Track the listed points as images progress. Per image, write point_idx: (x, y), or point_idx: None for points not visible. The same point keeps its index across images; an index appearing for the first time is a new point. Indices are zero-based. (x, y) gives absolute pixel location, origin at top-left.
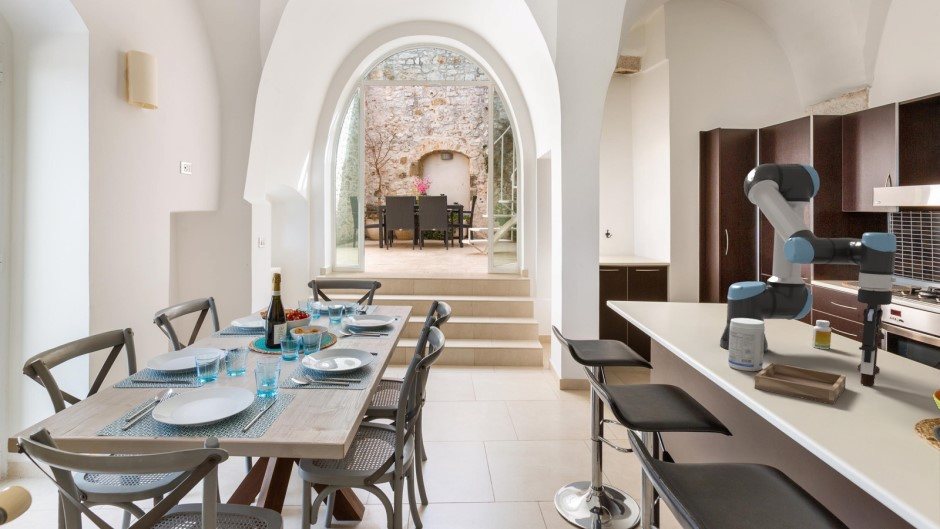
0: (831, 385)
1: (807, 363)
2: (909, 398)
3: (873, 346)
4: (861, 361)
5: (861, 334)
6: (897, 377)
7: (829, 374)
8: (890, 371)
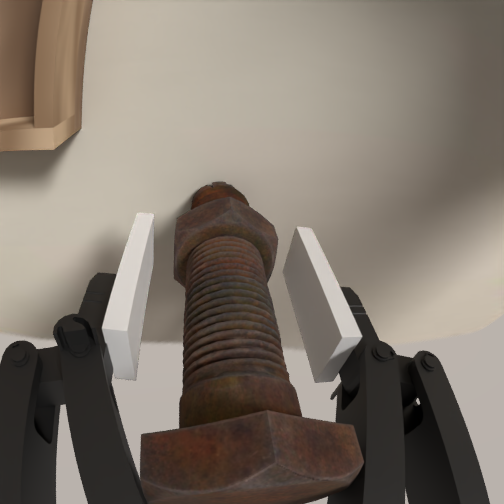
0: (13, 89)
1: (484, 11)
2: None
3: (56, 410)
4: (122, 258)
5: (186, 458)
6: (400, 287)
7: (37, 68)
8: (461, 270)
